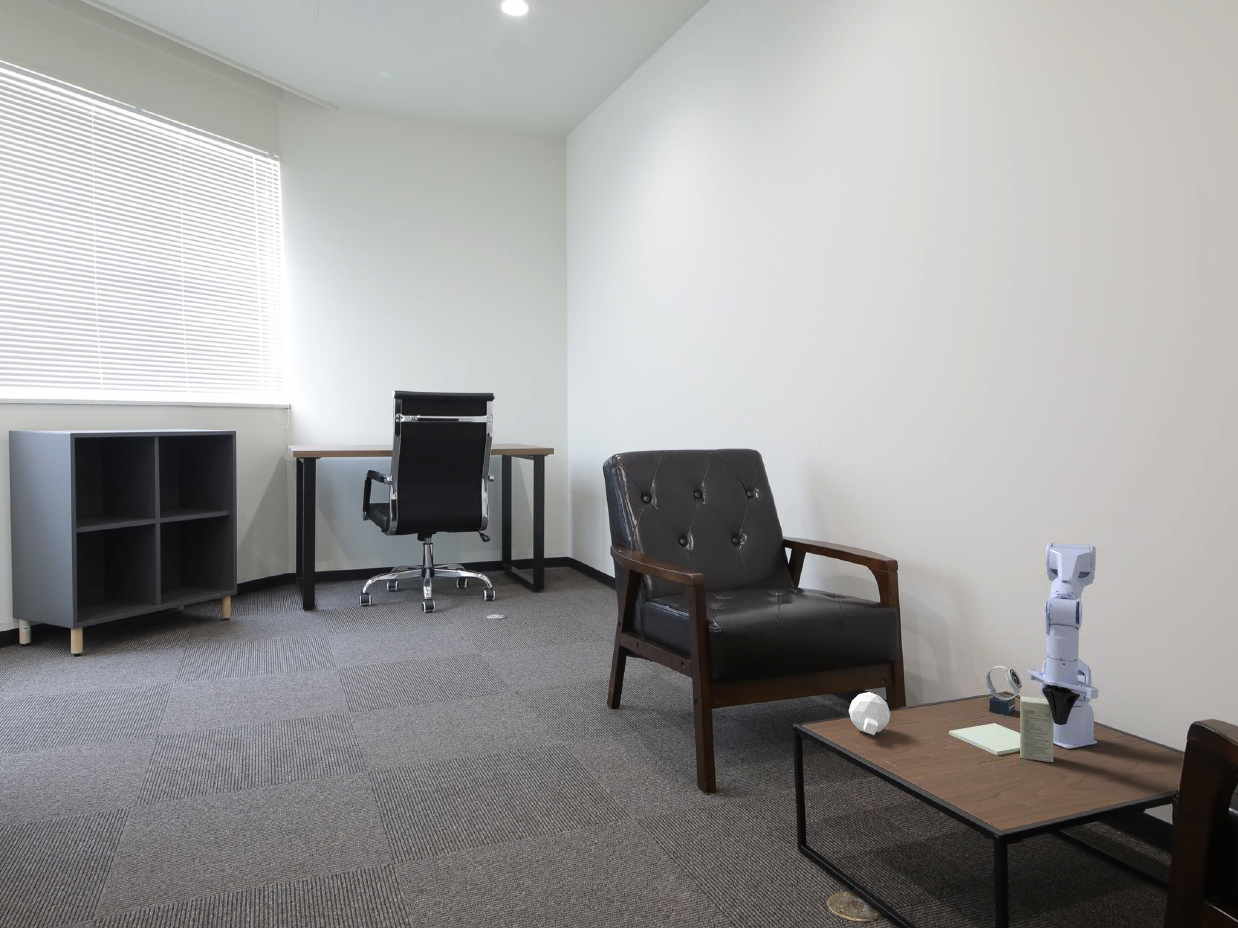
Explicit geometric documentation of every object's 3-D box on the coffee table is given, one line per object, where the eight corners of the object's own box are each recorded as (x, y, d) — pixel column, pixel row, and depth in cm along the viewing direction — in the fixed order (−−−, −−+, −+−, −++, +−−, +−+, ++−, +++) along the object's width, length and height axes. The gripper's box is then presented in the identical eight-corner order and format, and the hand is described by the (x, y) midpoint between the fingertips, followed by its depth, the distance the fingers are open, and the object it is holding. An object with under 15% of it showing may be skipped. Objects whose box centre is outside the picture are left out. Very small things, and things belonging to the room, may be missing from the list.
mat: (994, 726, 188) (994, 723, 188) (1044, 746, 176) (1044, 742, 176) (949, 734, 183) (949, 730, 183) (997, 755, 170) (997, 751, 170)
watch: (1016, 717, 194) (1017, 672, 194) (981, 710, 200) (982, 665, 200) (1023, 712, 199) (1024, 667, 198) (989, 704, 204) (990, 661, 204)
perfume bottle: (843, 713, 190) (844, 737, 178) (856, 679, 188) (859, 701, 177) (879, 727, 188) (883, 753, 177) (893, 693, 186) (898, 717, 175)
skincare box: (1052, 756, 171) (1053, 698, 170) (1053, 763, 167) (1055, 704, 166) (1018, 750, 173) (1019, 694, 173) (1019, 757, 169) (1020, 700, 169)
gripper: (1017, 650, 169) (1016, 714, 170) (1081, 668, 156) (1079, 738, 156) (1041, 647, 172) (1039, 710, 172) (1106, 665, 159) (1104, 733, 159)
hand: (1060, 723), depth 165 cm, fingers closed
